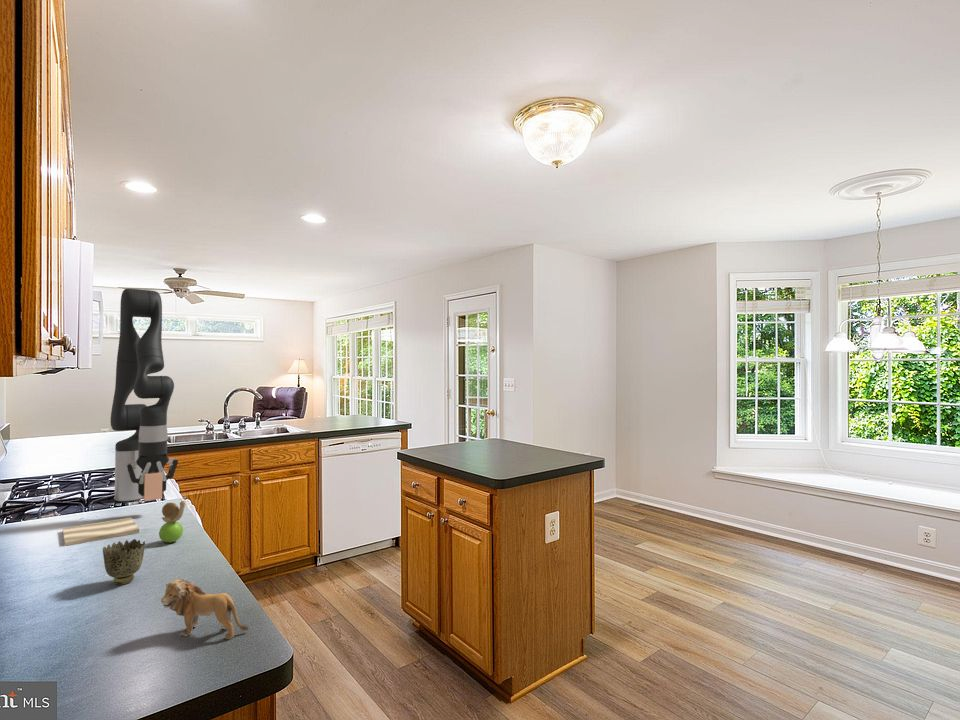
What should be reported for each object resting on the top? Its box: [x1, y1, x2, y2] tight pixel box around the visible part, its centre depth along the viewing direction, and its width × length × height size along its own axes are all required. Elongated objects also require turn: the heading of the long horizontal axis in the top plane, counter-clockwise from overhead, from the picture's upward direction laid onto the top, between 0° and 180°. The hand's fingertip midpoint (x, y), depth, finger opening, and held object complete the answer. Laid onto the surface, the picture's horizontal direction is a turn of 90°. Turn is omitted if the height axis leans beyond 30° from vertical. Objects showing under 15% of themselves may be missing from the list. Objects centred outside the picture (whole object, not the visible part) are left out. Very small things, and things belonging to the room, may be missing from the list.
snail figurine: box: [158, 495, 187, 544], centre depth 132 cm, size 5×6×12 cm
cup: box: [102, 538, 146, 586], centre depth 107 cm, size 8×7×8 cm
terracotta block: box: [141, 472, 163, 502], centre depth 157 cm, size 5×5×8 cm
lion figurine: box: [160, 578, 250, 640], centre depth 87 cm, size 15×5×9 cm, turn 91°
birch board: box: [62, 517, 140, 547], centre depth 140 cm, size 15×16×1 cm
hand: (152, 493), depth 156 cm, fingers closed on terracotta block, 4 cm apart
